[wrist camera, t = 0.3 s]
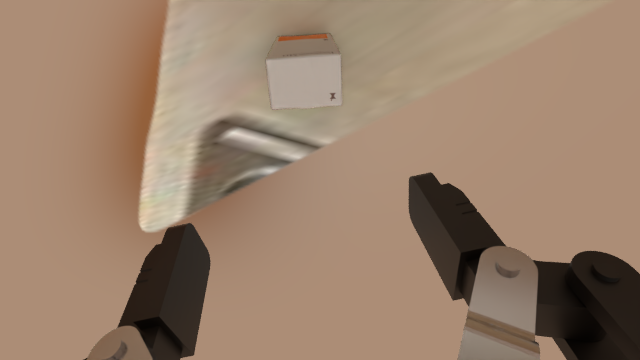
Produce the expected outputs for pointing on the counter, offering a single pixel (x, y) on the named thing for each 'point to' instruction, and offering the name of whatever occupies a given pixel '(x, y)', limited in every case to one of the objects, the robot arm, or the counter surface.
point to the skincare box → (304, 72)
